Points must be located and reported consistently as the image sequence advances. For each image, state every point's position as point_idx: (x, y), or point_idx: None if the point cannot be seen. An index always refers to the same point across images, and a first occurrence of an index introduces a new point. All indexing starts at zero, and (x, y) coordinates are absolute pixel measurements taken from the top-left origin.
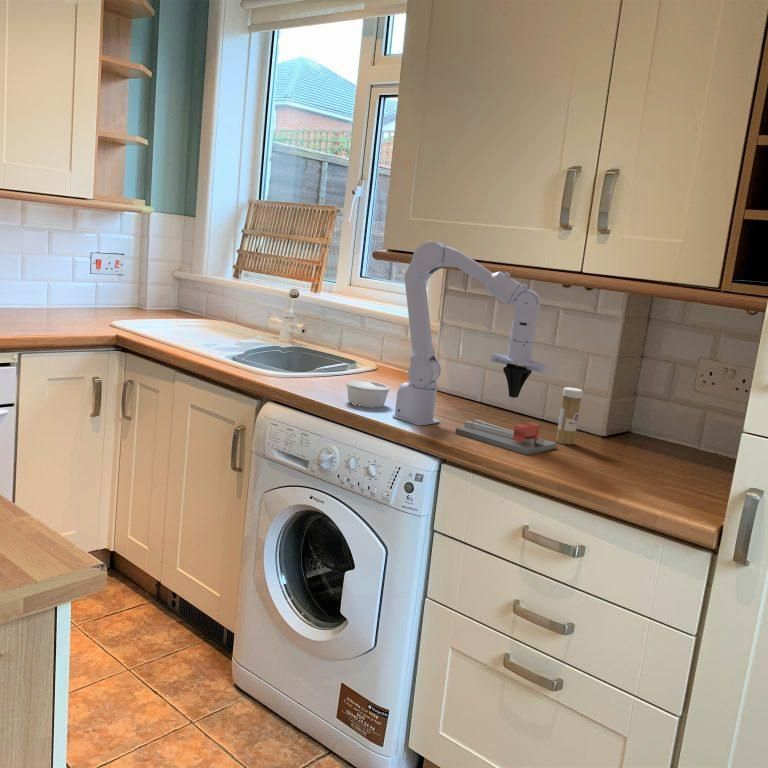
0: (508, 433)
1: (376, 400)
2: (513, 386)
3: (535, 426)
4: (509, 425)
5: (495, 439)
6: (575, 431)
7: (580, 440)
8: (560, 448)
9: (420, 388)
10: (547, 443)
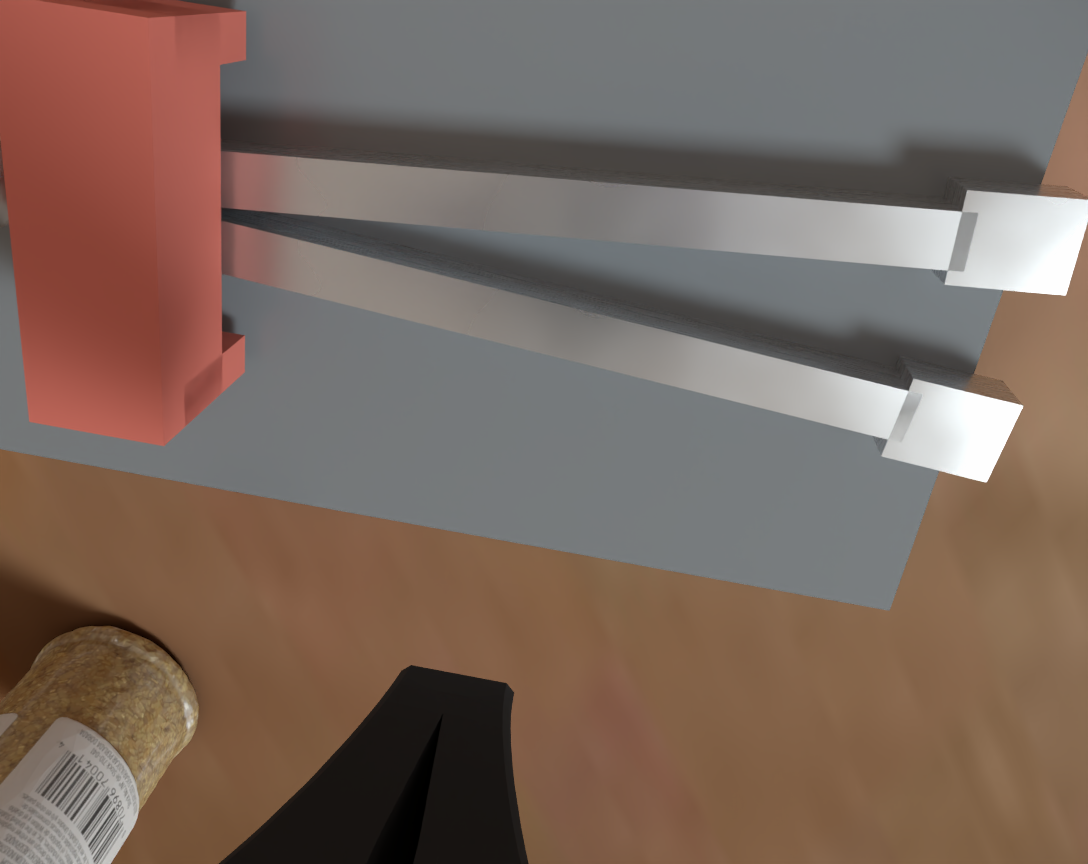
0: (378, 162)
1: None
2: (351, 804)
3: (28, 324)
4: (746, 851)
5: None
6: None
7: (114, 859)
8: (10, 462)
9: None
10: None
